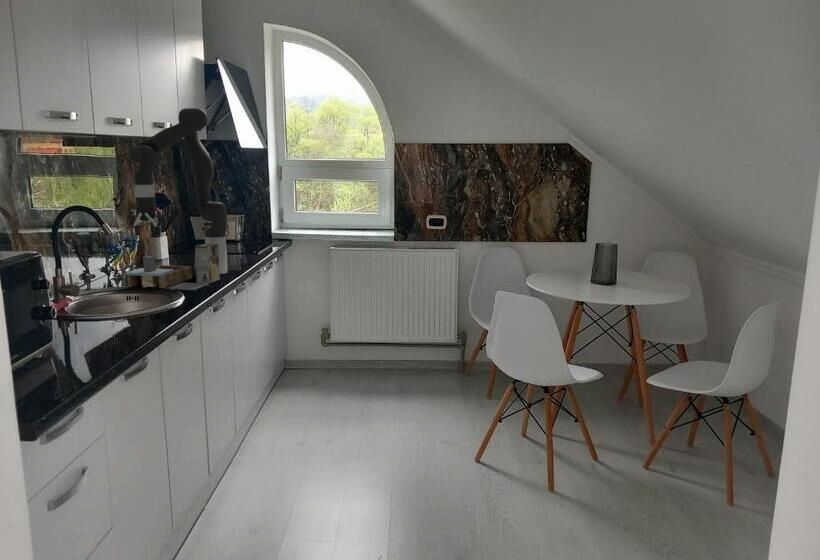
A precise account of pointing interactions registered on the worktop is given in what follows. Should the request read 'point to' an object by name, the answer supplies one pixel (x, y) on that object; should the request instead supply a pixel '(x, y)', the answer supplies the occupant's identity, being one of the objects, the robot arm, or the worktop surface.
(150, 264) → the lid
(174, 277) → the organiser
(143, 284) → the block
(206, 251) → the coffee box
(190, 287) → the mat
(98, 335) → the worktop surface
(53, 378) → the worktop surface
